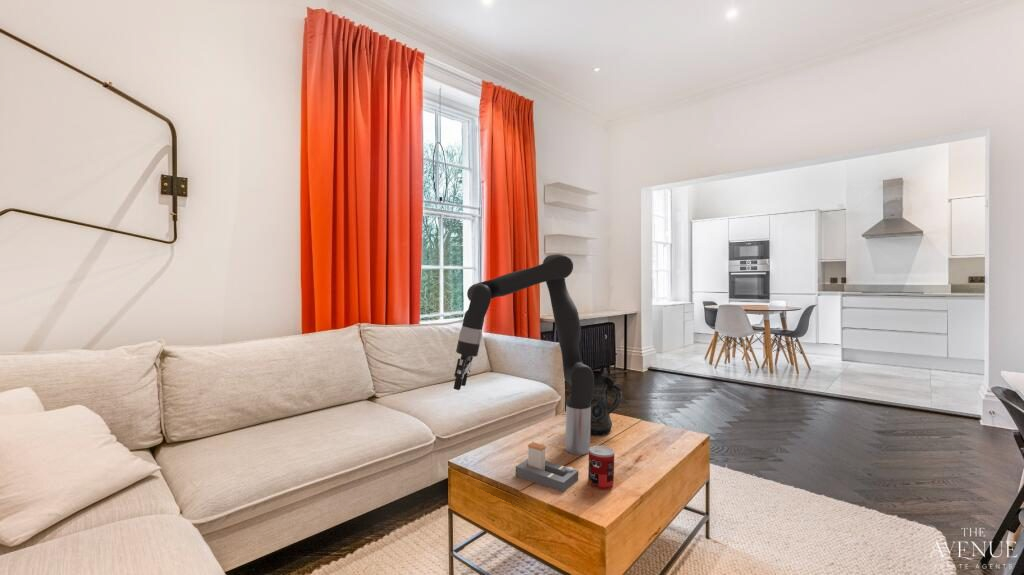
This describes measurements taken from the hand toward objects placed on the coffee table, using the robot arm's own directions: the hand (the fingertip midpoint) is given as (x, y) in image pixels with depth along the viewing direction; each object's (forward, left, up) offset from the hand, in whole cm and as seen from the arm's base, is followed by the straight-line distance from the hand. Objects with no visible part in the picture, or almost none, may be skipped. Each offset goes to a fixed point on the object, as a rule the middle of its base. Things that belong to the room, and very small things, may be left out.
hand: (459, 387), depth 147 cm
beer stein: (-63, +22, -28) cm, 72 cm away
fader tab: (-12, +24, -28) cm, 39 cm away
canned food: (-19, +44, -28) cm, 56 cm away
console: (-12, +28, -28) cm, 41 cm away
